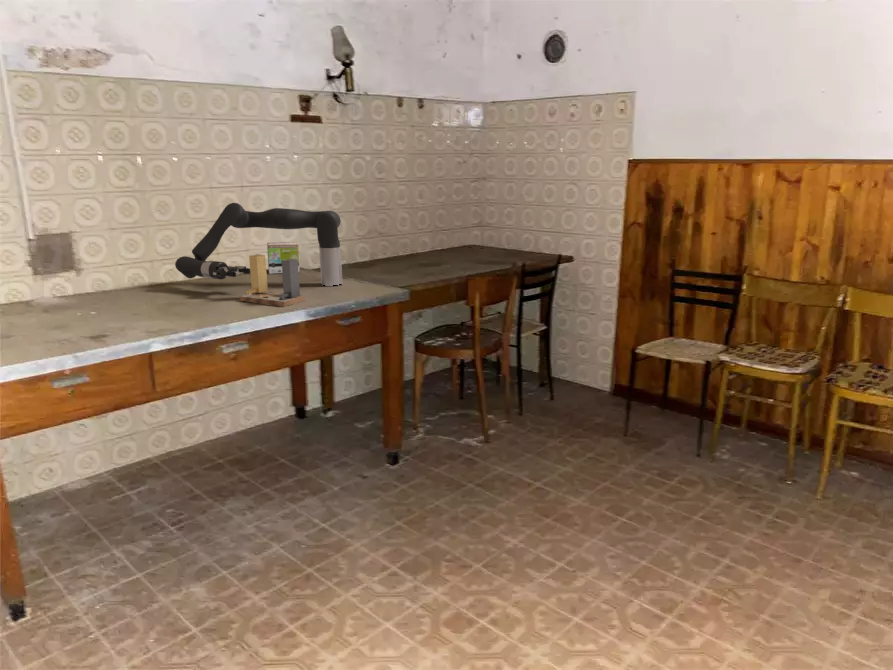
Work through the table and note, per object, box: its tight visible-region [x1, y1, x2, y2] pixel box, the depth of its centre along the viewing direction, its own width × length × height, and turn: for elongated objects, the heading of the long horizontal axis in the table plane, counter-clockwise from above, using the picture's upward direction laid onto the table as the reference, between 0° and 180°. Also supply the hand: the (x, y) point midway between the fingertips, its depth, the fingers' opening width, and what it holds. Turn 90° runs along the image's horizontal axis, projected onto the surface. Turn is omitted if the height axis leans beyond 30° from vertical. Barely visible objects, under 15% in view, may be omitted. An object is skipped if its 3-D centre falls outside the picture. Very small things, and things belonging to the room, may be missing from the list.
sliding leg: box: [245, 253, 269, 295], centre depth 277 cm, size 4×10×15 cm, turn 152°
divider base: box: [239, 259, 306, 308], centre depth 273 cm, size 23×13×17 cm, turn 62°
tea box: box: [266, 241, 300, 275], centre depth 341 cm, size 15×10×15 cm, turn 106°
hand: (242, 272), depth 283 cm, fingers open, 8 cm apart
